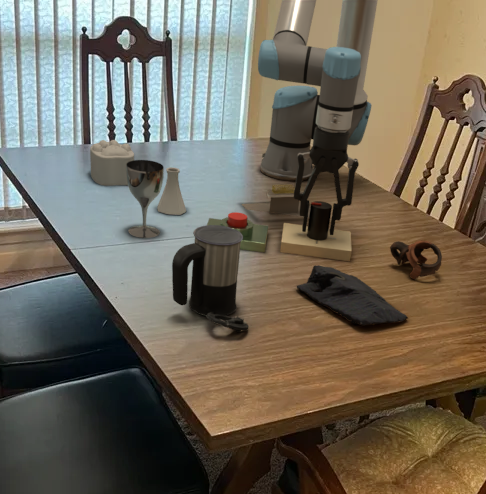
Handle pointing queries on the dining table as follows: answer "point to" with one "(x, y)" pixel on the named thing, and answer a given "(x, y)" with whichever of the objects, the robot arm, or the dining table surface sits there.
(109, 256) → the dining table surface
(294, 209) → the platform
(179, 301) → the milk frother
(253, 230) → the button housing
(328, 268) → the black cloth
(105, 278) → the dining table surface
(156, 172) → the wine glass
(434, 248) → the coiled brown leather belt
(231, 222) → the button
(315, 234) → the dial
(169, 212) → the flask
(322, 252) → the timer panel
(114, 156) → the lumpy-topped squat cylinder
